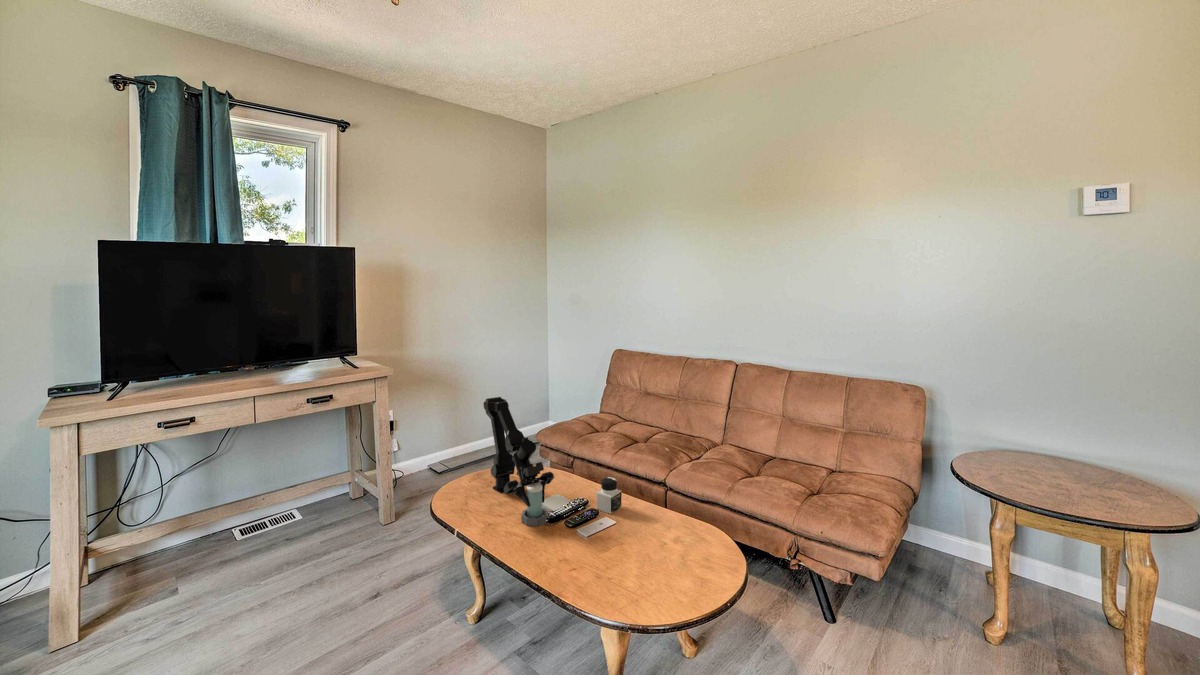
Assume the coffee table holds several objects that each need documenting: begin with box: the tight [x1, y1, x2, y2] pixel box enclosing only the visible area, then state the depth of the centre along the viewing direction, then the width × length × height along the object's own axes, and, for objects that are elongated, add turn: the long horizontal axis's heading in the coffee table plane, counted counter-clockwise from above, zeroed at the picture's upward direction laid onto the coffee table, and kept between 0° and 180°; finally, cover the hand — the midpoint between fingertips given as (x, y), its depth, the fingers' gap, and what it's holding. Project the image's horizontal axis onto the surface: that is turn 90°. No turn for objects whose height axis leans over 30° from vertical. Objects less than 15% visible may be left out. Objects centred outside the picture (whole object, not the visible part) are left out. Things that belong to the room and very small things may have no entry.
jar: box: [526, 483, 543, 518], centre depth 181 cm, size 6×6×13 cm
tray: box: [542, 493, 584, 516], centre depth 191 cm, size 16×10×1 cm, turn 44°
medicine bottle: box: [596, 476, 623, 515], centre depth 189 cm, size 7×7×12 cm
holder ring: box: [521, 507, 549, 527], centre depth 181 cm, size 10×10×2 cm
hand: (536, 504), depth 180 cm, fingers closed on jar, 5 cm apart
